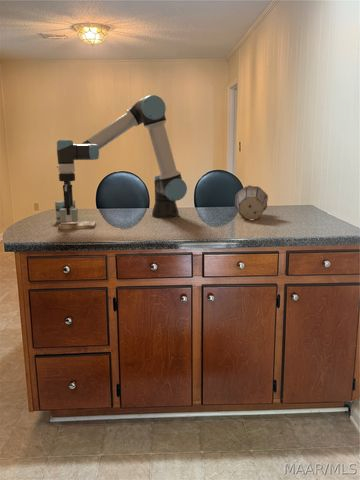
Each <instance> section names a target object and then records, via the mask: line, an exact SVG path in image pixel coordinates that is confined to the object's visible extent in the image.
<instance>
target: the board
mask: <svg viewBox="0 0 360 480" xmlns="http://www.w3.org/2000/svg"><path fill="white" fill-rule="evenodd" d="M96 225H97V221H96V220H95V221H94V220H93V221H92V220H91V221H77V222H60V224H58V225H57V229H58V230H78V229H79V230H80V229H82V230H84V229H85V228H86V229H95V227H96Z"/></svg>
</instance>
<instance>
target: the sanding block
mask: <svg viewBox="0 0 360 480" xmlns="http://www.w3.org/2000/svg"><path fill="white" fill-rule="evenodd" d="M59 211H60V222H59V223H61V222H66V212H65V208H64V209H60V210H59ZM78 211H79V209H78V208H76V207H75V208H71V213H72V221H70V222H79V212H78Z"/></svg>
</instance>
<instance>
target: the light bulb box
mask: <svg viewBox="0 0 360 480" xmlns="http://www.w3.org/2000/svg"><path fill="white" fill-rule="evenodd" d="M54 204H55V205H54V206H55V207H54V208H55V218H56V219H55V220H56V223H61V222H60V211H59V210H60V209H64V199H63V200H58V201H55V202H54ZM73 204H74V206H73V208H76V200H74V199H73Z"/></svg>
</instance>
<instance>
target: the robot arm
mask: <svg viewBox="0 0 360 480" xmlns="http://www.w3.org/2000/svg"><path fill="white" fill-rule="evenodd" d="M166 110H167V107H166V103H165V101H164V100H163V99H162V98H161V97H160V96H158V95H155V94H150V95H147V96H144V97H142V98H140V99H139V100H137V101H136V102H135V104H134V103H133V105H131V107H129V108H128V109H126V112H125V113H124V114H123V115H121V116H120V117H118V118H117V119H116V120H113V122H111V123H109V124H108V125H106V126H105V127H104V128H102V129H101V130H99V131H97V132H96V133H95V134H93V135H92V136H90V137H89V138H88V139H86V140H84V141H83V142H82V143H80V144H79V143H77V144H76V143H74V141H73V140H72V139H58V140H57V142H56V155H57V156H56V157H57V163H58V165H57V166H56V168H58V172H59V173H58V180H59V182H63V184H62V191H63V200H64V208H65V212H66V222H70V221H72V213H71V208H73V206H74V204H73V200H74V199H73V198H74V197H73V196H74V195H73V184H72V183H71V182H74V181H76V174H75V171H76V170H75V161H81V160H82V161H86V160H87V161H93V160H94V161H97V160H98V159H99V158H100V150H101V149H102V148H104V147H106V146H107V145H108V144H109V143H111V142H113V141H114V140H115V139H117V138H118V137H120V136H122V135H123V134H124V133H126V132H128V130H130V129H132V128H133V127H138V126H140V125H142V124H143V127H144V128H146V129H147V130H148V134H149V137H150V140H151V143H152V148H153V152H154V154H155V158H156V162H157V165H158V170H159V172H160V174H158V175H155V176H154V206H153V208H152V211H151V214H152V217H153V218H160V219H161V218H166V219H167V218H168V219H169V218H175V217H176V216H177V217H179V215H180V213H179V212H180V211H179V209H178V205H177V201H181V200H182V199H184V197H186V195H187V193H188V192H187V191H188V186H187V183H186V182H185V181H184V180H183V178H182V174H181V172H180V171H179V170H177V166H176V163H175V159H174V155H173V152H172V149H171V144H170V140H169V136H168V134H167V133H168V132H167V129H166V127H165V126H166V125H165V124H166V121H167V118H166Z"/></svg>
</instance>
